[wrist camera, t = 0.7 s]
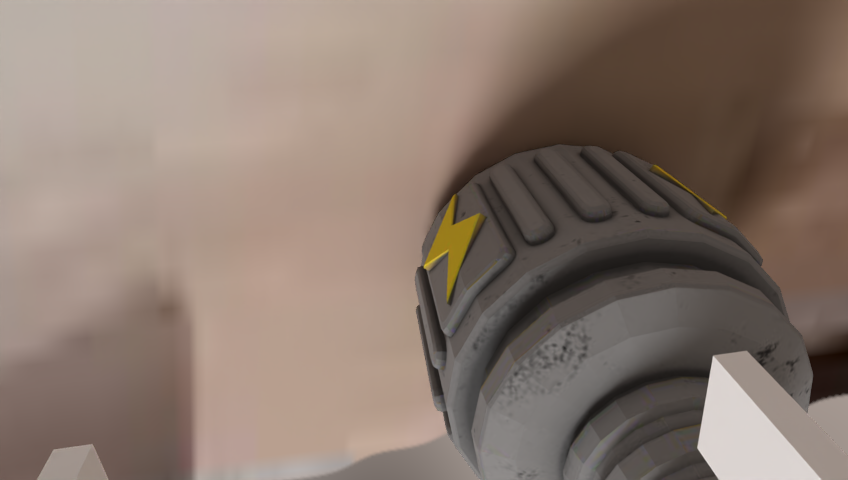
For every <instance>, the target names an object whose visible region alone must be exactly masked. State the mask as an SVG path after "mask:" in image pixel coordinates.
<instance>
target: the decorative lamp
mask: <svg viewBox="0 0 848 480" xmlns="http://www.w3.org/2000/svg"><path fill="white" fill-rule="evenodd" d="M422 254H423V257H422V264H421V266H420V267H418V269H417V271H416V276H415V285H416V290H417V295H418V300H419V304H420V305H418V306H417V309H416V313H417V318H418V324H419V329H420V334H421V339H422V344H423V350H424V355H425V360H426V365H427V371H428V376H429V381H430V386H431V391H432V396H433V401H434V405H435V407H436V409H437V410H438V411H442V412H443V416H444V421H445V426H446V430H447V433H448V436H449V438H450V439H451V440H452V442H453V443H454V445H455V447H456V448H457V450H458V451H459V453H460V454H461V455H462V457H463V458H464V459H465V461H466V462H467V463H468V465H469V466H470V468H471V469H472V470H473V471H474V473H475V474H476V476H477V477H478V478H479V479H480V480H719V479H718V478H717V476H716V475H715V473H714V472H713V470H712V469H711V468H710V466H709V465H708V463H707V462H706V460H705V459H704V457H703V456H702V454H701V453H700V451H699V450H698V449H697V447H698V441H699V435H700V429H701V423H702V417H703V412H704V406H705V400H706V394H707V388H708V382H709V377H710V371H711V365H712V359H713V355H720V354H727V353H734V352H741V351H747V352H748V353H749V354H750V355H751V356H752V357H753V358H754V359H755V360H756V361H757V362H758V363H759V364H760V365H761V366H762V367H763V368H764V369H765V370H766V371H767V372H768V373H769V374H770V375H771V376H772V377H773V378H774V380H775V381H776V382H777V383H778V384H779V385H780V386H781V387H782V388H783V389H784V390H785V391H786V392H787V393H788V394H789V395H790V396H791V397H792V398H793V399H794V400H795V401H796V402H797V403H798V404H799V405H800V406H801V408H802V409H803V410H804V411H805V412H806V413H807V412H808V406H809V399H810V392H811V386H812V379H813V372H812V369H811V365H810V362H809V358H808V355H807V351H806V347H805V344H804V340H803V337H802V335H801V334H800V333H799V331H798V330H797V329H796V328H795V327H794V326H793V325H792V324H791V323H790V321H789V318H788V314H787V311H786V307H785V304H784V301H783V297H782V294H781V290H780V288H779V286H778V285H777V284H776V283H775V282H774V281H773V280H772V279H771V278H770V276H769V275H768V274H767V273H766V272H765V271H764V270H763V269H762V268H761V266H762V262H763V259H762V258H761V256H760V254H759V253H758V251H757V250H756V249H755V248H754V247H753V246H752V244H751V243H750V242H749V241H748V240H747V239H746V238H745V237H744V235H743V234H742V233H741V232H740V231H739V230H738V229H737V228H736V227H735V226H734V225H732V224H731V223H730V222H728V221H727V217H726V216H725V215H723V214H722V213H721V212H719V211H718V210H717V209H715V208H714V207H712V206H711V205H710V204H708V203H707V202H706V201H704V200H703V199H702V198H700V197H699V196H698V195H696V194H695V193H694V192H692V191H691V190H690V189H688V188H687V187H685V186H684V185H683V184H681V183H680V182H679V181H677V180H676V179H675V178H673V177H672V176H671V175H669V174H668V173H667V172H665V171H664V170H662V169H661V168H660V167H658V166H657V165H652V164H650V163H648V162H646V161H643V160H641V159H639V158H637V157H635V156H633V155H631V154H629V153H626V152H623V151H616V152H614V153H613V154H612V153H610V152H608V151H606V150H604V149H602V148H600V147H597V146H584V147H582V146H572V145H562V144H558V145H553V146H549V147H544V148H539V149H535V150H530V151H525V152H521V153H516V154H513V155H512V156H510V157H508V158H506V159H504V160H502V161H501V162H499V163H497V164H495V165H493V166H492V167H490V168H488V169H486V170H484V171H482V172H481V173H479V174H477V175H475V176H474V177H473V178H472V179H471V180H470V181H469V182H468V183H467V184H466V185H465V186H464V187H463V188H462V189H461V190H460V191H459V192H458V193H457V194H454V195H453V197H452V199H451V200H450V201H449V202H448V203H447V204H446V205H445V206H444V207H443V209H442V210H441V211H440V212H439V213H438V215H437V217H436V219H435V221H434V223H433V225H432V227H431V229H430V231H429V233H428V234H427V236H426V238H425V241H424V243H423V246H422Z"/></svg>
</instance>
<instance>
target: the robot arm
mask: <svg viewBox="0 0 848 480" xmlns="http://www.w3.org/2000/svg"><path fill="white" fill-rule="evenodd" d="M697 449H698V450H699V451H700V453H701V454H702V456H703V457H704V459H705V460H706V462H707V463H708V465H709V466H710V468H711V469H712V470H713V472H714V473H715V475H716V476H717V478H718V479H719V480H848V455H847V454H846V453H845V452H844V451H843V450H842V449H841V448H840V447H839V446H838V445H837V444H836V443H835V442H834V441H833V440H832V439H831V438H830V437H829V436H828V434H827V433H826V432H825V431H824V430H823V429H822V428H821V427H820V426H819V425H818V424H817V423H816V422H815V421H814V420H813V419H812V418H811V417H810V416H809V415H808V414H807V413H806V412H805V411H804V410H803V409H802V408H801V406H800V405H799V404H798V403H797V402H796V401H795V400H794V399H793V398H792V397H791V396H790V395H789V394H788V393H787V392H786V391H785V390H784V389H783V388H782V387H781V386H780V385H779V384H778V383H777V382H776V381H775V380H774V378H773V377H772V376H771V375H770V374H769V373H768V372H767V371H766V370H765V369H764V368H763V367H762V366H761V365H760V364H759V363H758V362H757V361H756V360H755V359H754V358H753V357H752V356H751V355H750V354H749V353H748V352H747V351H741V352H734V353H727V354H720V355H713V359H712V365H711V371H710V377H709V382H708V388H707V394H706V400H705V406H704V412H703V417H702V423H701V429H700V435H699V441H698V447H697ZM37 480H108V478H107V475H106V473H105V471H104V469H103V466H102V464H101V462H100V460H99V457H98V455H97V453H96V450H95V448H94V446H93V444H90V445H83V446H76V447H69V448H62V449H55V450H53V452H52V453H51V455H50V457H49V459H48V461H47V462H46V464H45V466H44V468H43V470H42V471H41V473H40V475H39V477H38V479H37Z"/></svg>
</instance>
